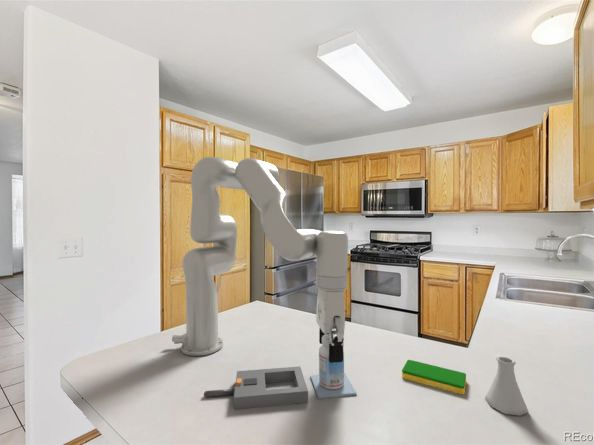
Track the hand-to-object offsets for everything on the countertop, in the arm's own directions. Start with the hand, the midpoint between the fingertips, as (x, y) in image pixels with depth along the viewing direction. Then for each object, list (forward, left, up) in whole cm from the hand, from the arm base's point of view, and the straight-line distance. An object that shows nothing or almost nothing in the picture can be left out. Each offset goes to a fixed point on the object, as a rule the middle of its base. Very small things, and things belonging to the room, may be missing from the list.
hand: (330, 351), depth 71 cm
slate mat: (0, 0, -8) cm, 8 cm away
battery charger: (-18, 0, -8) cm, 20 cm away
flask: (+35, -13, -8) cm, 39 cm away
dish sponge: (+26, -1, -9) cm, 28 cm away
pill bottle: (0, 0, -8) cm, 8 cm away
